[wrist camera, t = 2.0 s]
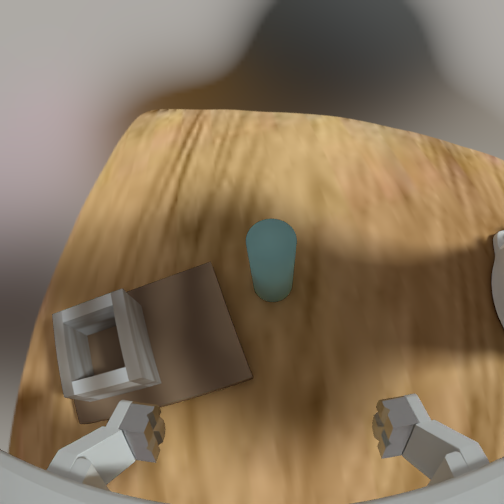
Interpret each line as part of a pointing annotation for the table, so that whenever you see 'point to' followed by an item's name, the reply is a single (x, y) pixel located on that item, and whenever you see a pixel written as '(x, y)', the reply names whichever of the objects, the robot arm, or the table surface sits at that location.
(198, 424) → the table surface
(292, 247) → the teal rounded oblong piece
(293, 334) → the table surface
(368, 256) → the table surface
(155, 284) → the walnut socket board
